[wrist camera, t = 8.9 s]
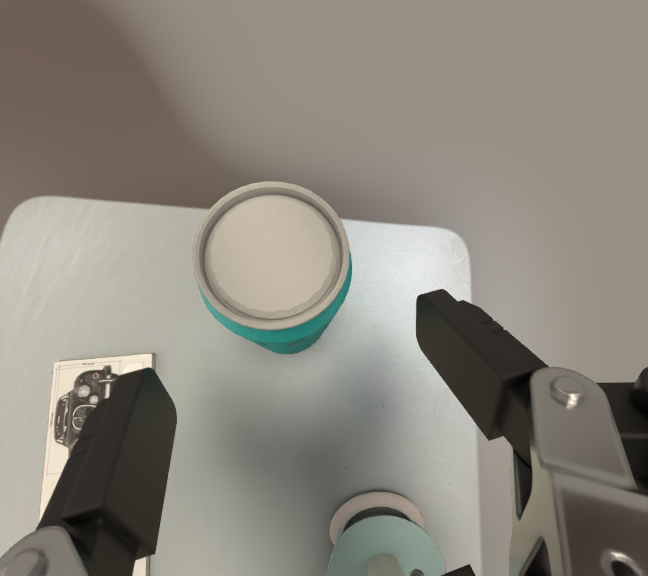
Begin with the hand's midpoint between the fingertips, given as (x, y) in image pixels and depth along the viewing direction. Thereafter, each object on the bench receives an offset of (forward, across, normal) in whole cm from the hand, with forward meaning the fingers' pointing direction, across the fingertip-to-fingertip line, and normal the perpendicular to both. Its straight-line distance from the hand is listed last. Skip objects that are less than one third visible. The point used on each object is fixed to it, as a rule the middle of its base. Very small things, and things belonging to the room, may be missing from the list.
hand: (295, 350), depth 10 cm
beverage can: (+13, 0, +8) cm, 16 cm away
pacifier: (+2, -2, +20) cm, 20 cm away
